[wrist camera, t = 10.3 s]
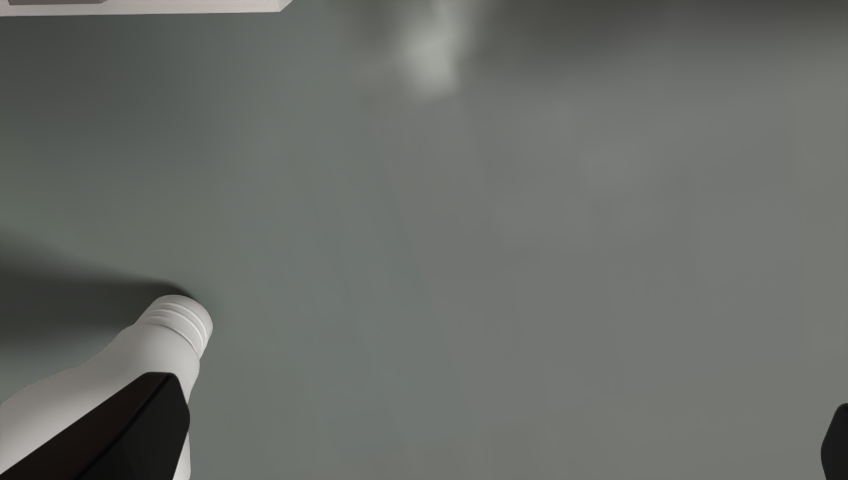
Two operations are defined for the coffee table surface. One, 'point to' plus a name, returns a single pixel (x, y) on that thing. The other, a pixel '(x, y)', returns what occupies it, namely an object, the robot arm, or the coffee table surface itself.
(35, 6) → the socket block
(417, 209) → the coffee table surface
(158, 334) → the lightbulb
